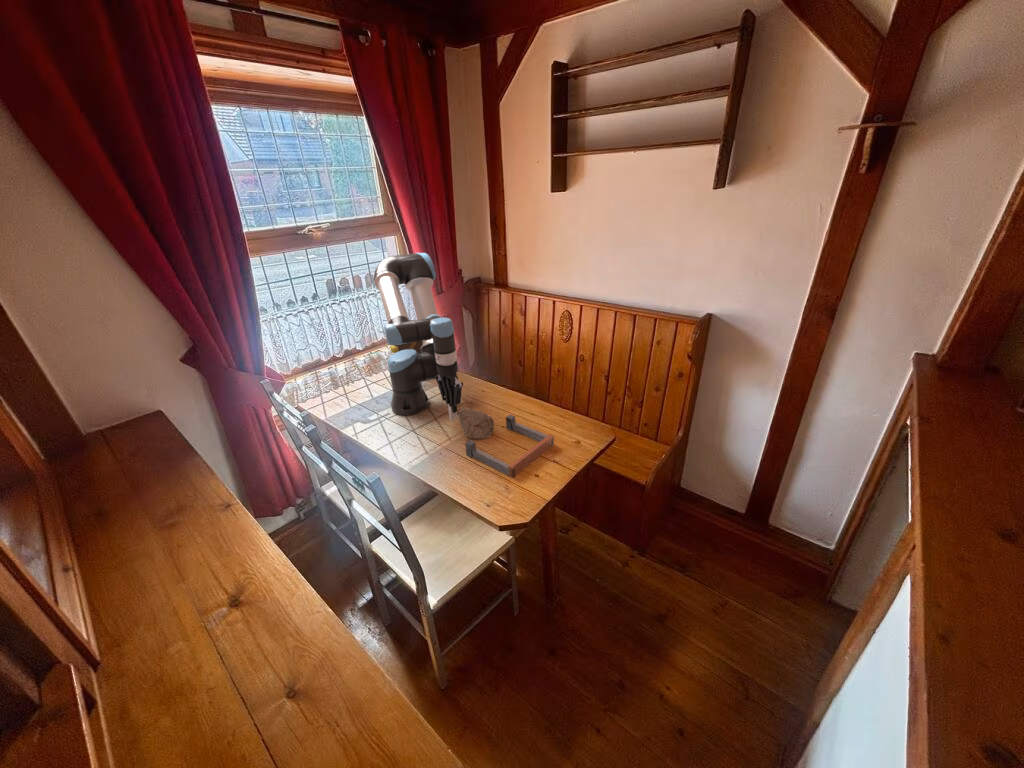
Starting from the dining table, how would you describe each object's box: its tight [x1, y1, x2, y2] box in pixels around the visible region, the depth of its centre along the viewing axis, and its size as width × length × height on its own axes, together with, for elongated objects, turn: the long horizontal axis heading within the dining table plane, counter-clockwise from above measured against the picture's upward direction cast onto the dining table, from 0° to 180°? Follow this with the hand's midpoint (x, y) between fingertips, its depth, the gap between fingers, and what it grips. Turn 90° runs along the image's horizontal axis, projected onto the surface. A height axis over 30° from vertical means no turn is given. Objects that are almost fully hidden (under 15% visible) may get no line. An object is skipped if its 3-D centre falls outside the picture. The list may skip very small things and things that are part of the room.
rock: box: [457, 408, 495, 440], centre depth 153 cm, size 14×10×8 cm
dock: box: [465, 414, 555, 479], centre depth 144 cm, size 20×23×5 cm
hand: (453, 418), depth 161 cm, fingers closed
